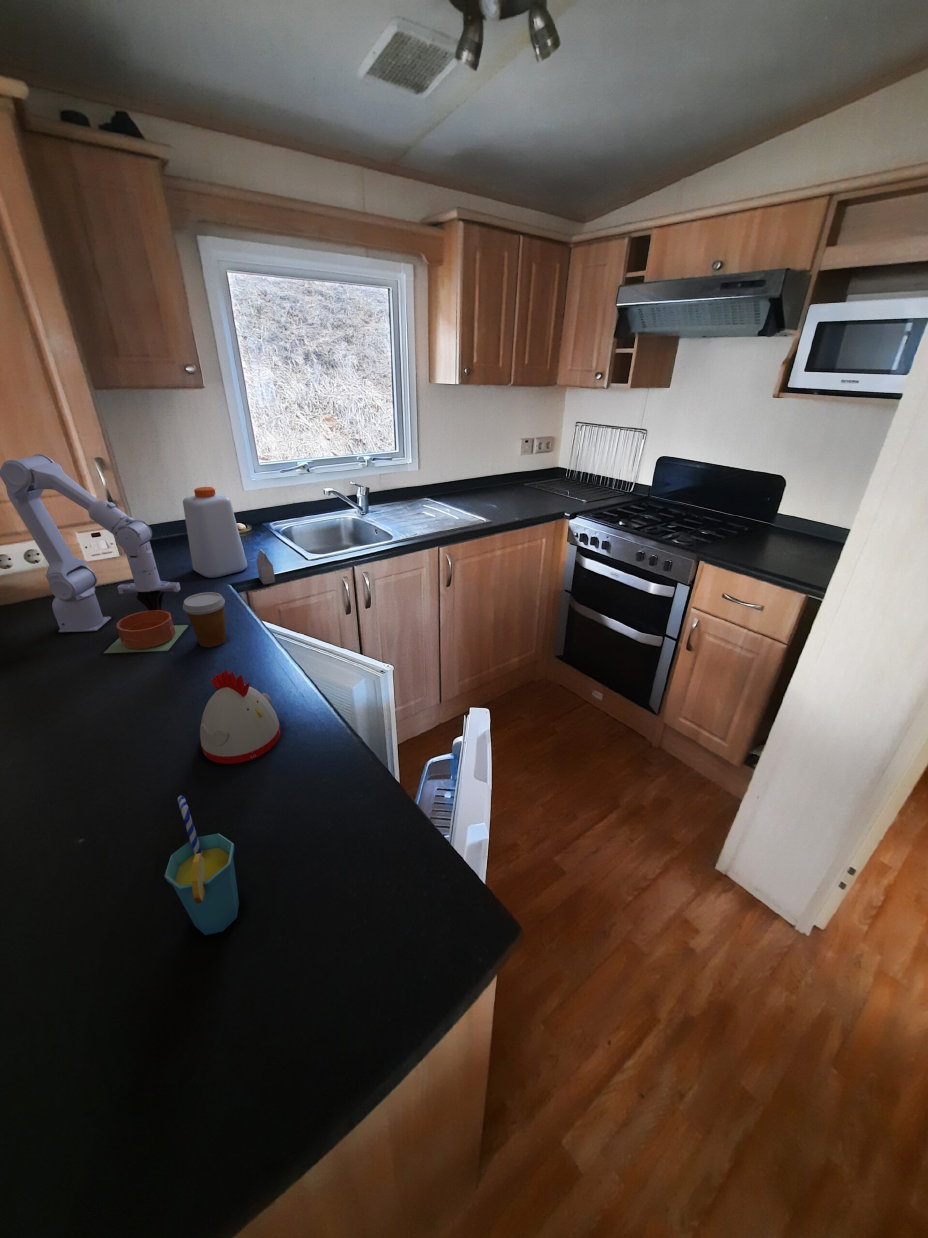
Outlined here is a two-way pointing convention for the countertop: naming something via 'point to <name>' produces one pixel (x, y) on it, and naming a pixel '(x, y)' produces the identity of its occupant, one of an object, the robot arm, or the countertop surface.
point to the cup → (205, 878)
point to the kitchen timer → (237, 722)
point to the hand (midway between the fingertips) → (157, 616)
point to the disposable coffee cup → (207, 617)
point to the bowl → (146, 629)
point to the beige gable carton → (265, 568)
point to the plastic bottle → (213, 534)
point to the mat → (120, 648)
